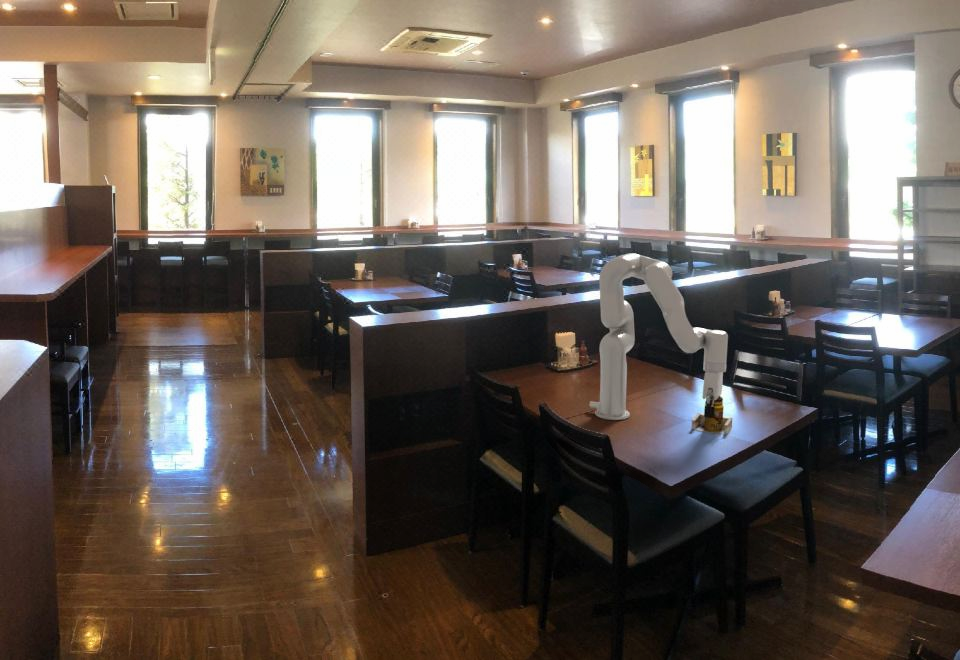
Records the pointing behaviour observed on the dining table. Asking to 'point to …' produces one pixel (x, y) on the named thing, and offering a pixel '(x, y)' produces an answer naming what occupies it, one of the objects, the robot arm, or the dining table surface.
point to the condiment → (714, 419)
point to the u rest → (701, 420)
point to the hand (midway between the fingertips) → (712, 413)
